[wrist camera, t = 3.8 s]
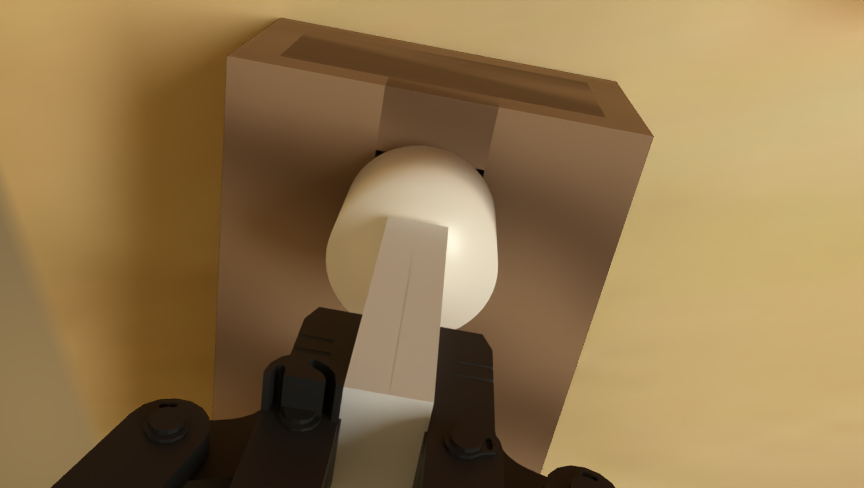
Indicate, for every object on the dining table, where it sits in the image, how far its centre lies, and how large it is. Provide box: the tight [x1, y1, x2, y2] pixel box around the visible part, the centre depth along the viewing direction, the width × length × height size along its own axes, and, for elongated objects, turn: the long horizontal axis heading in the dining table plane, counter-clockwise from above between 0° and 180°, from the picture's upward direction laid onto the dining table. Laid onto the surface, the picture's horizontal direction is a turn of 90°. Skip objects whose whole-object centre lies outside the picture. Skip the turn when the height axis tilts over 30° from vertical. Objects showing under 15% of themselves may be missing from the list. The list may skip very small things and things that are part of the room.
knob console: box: [213, 18, 654, 474], centre depth 27 cm, size 22×12×6 cm, turn 170°
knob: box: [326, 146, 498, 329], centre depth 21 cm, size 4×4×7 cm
